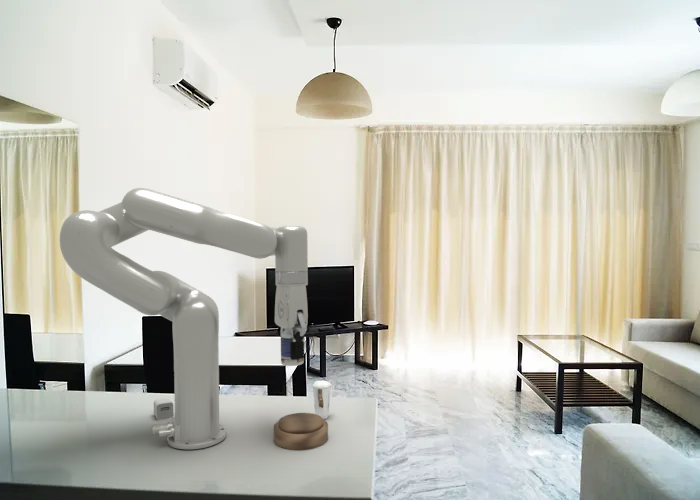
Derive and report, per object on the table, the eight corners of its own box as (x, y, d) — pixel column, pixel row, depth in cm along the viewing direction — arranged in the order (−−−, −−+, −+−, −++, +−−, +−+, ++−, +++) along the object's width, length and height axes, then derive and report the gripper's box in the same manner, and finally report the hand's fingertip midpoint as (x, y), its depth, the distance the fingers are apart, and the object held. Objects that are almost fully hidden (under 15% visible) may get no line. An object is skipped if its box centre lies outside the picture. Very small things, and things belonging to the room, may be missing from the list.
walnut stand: (283, 454, 100) (283, 435, 100) (267, 433, 111) (267, 416, 111) (336, 443, 105) (336, 425, 105) (316, 424, 116) (316, 408, 116)
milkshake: (333, 420, 119) (333, 380, 119) (311, 420, 119) (311, 380, 119) (334, 414, 123) (334, 375, 123) (313, 414, 124) (313, 375, 123)
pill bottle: (303, 366, 111) (303, 324, 111) (279, 366, 111) (279, 324, 111) (304, 360, 117) (304, 320, 116) (282, 360, 116) (281, 320, 116)
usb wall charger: (156, 420, 120) (156, 404, 120) (152, 412, 126) (152, 396, 126) (173, 417, 122) (173, 401, 122) (168, 409, 128) (168, 394, 128)
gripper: (264, 277, 119) (265, 350, 119) (289, 282, 104) (290, 366, 104) (293, 276, 123) (293, 347, 123) (321, 280, 108) (322, 361, 108)
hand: (292, 355), depth 114 cm, fingers closed on pill bottle, 5 cm apart
